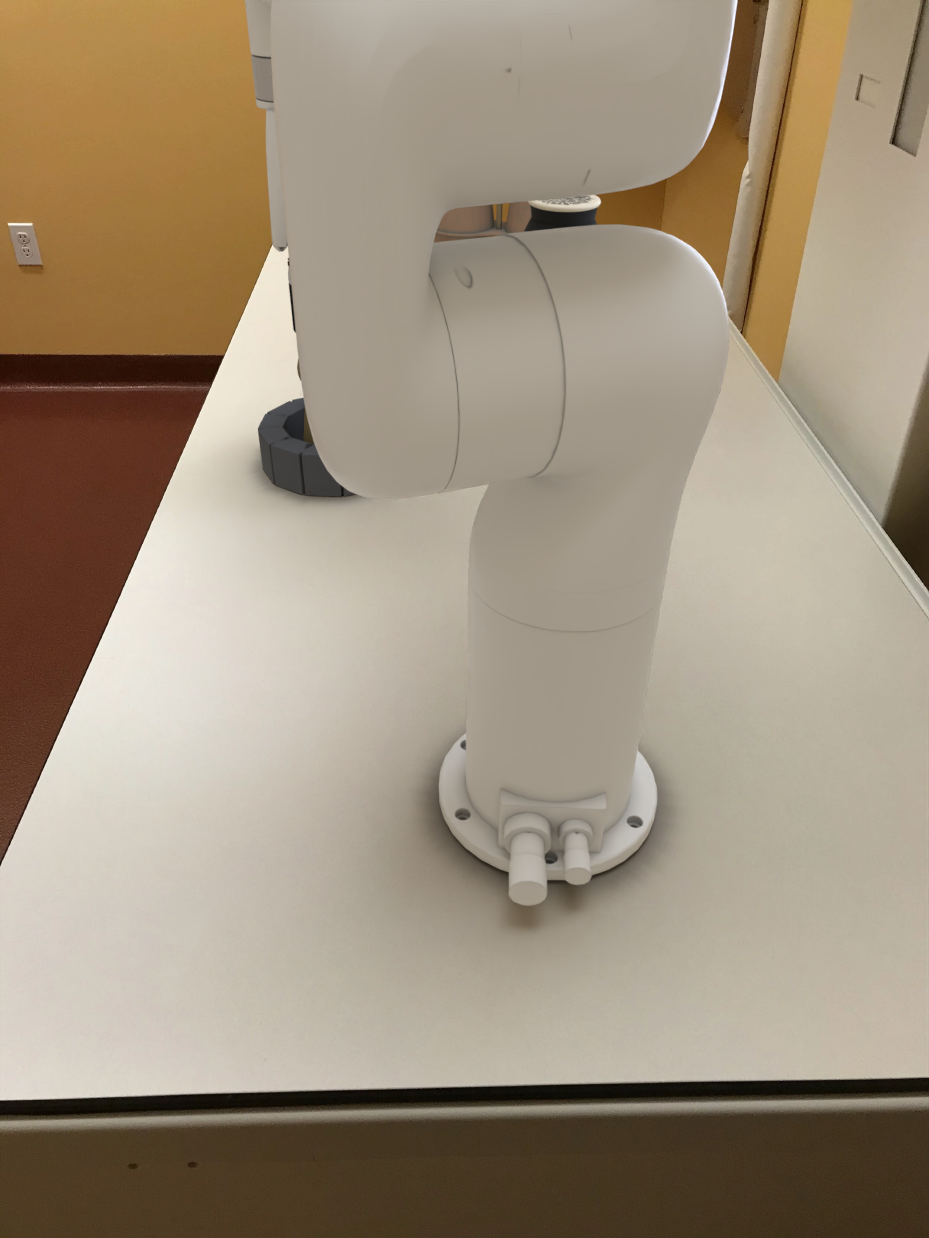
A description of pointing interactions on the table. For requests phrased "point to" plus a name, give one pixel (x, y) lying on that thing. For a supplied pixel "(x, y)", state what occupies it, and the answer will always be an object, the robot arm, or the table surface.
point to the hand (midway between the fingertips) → (324, 313)
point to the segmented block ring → (294, 453)
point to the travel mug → (563, 212)
